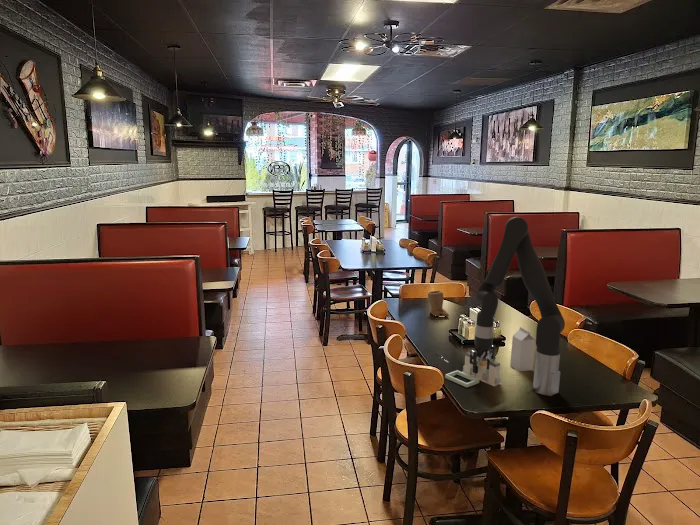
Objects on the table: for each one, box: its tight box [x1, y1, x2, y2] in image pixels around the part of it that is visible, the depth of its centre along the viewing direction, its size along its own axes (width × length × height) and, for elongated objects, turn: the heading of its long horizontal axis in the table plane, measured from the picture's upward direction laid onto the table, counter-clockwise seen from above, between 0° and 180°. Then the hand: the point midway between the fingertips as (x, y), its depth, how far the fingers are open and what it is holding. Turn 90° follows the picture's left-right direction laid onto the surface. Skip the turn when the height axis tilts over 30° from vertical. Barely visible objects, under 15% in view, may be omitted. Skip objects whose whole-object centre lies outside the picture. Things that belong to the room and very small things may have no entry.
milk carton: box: [509, 326, 536, 372], centre depth 236 cm, size 7×7×19 cm
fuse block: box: [462, 351, 503, 387], centre depth 222 cm, size 18×5×10 cm, turn 38°
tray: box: [444, 369, 480, 388], centre depth 220 cm, size 12×8×3 cm, turn 38°
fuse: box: [476, 357, 488, 380], centre depth 222 cm, size 3×3×9 cm
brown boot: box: [427, 290, 450, 318], centre depth 318 cm, size 15×12×15 cm
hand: (481, 370), depth 222 cm, fingers open, 7 cm apart
